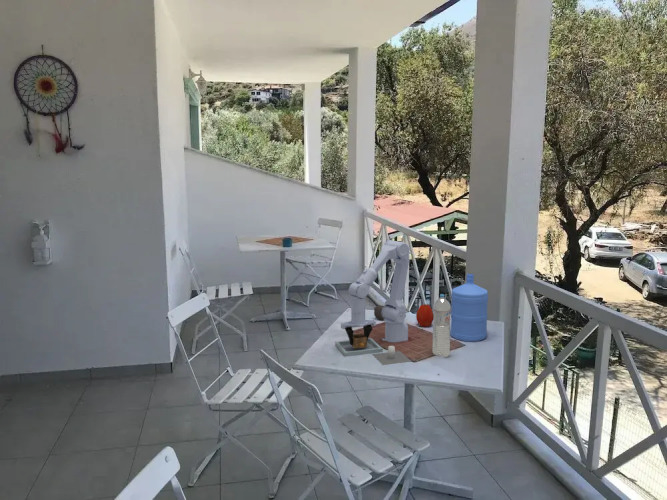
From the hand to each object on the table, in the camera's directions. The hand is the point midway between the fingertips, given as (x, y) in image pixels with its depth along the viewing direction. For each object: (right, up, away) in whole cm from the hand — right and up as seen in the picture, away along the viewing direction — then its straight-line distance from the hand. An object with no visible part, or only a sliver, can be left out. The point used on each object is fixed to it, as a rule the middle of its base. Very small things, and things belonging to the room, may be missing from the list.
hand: (358, 343), depth 222 cm
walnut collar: (0, -1, -1) cm, 1 cm away
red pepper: (+33, +3, +33) cm, 47 cm away
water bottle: (+33, -4, -6) cm, 34 cm away
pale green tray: (0, -3, +1) cm, 3 cm away
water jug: (+50, 0, +17) cm, 53 cm away
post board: (+12, -5, -10) cm, 17 cm away
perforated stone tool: (+17, +4, +42) cm, 46 cm away
